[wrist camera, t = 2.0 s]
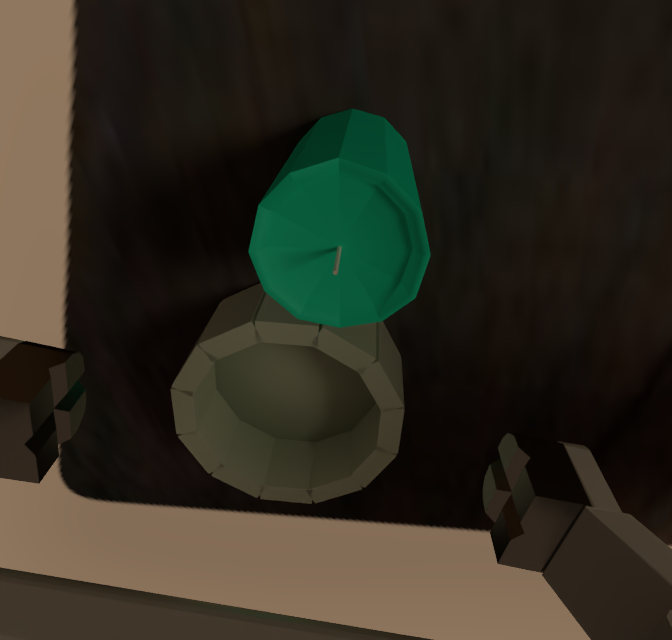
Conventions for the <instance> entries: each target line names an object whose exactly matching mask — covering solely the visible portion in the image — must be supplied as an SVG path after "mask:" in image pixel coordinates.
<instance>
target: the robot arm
mask: <svg viewBox="0 0 672 640" xmlns="http://www.w3.org/2000/svg"><path fill="white" fill-rule="evenodd" d="M84 371H85V369H84V360H83V356H82V355H81V354H80V353H79V352H76V351H71V350H66V349H61V348H56V347H52V346H47V345H42V344H37V343H33V342H28V341H21V340H17V339H12V338H6V337H2V336H0V478H6V479H12V480H19V481H26V482H34V483H40V481H41V480H42V479H43V477H44V476H45V475H46V473H47V472H48V470H49V469H50V467H51V466H52V465H53V463H54V462H55V461H56V459H57V458H58V456H59V452H58V444H61V443H63V442H65V441H67V440H69V439H71V438H72V436H73V435H74V433H75V432H76V430H77V429H78V428H79V425H80V423H81V420H82V418H83V415H84V412H85V406H86V389H85V388H84V387H83V386H82V384H81V383H80V382H79V381H78V379H79V378H80V376H81V375H82V374H83V372H84ZM498 450H499V453H500V457H501V458H500V459H498V460H497V461H495V462H493V463H491V464H490V466H489V468H488V470H487V473H486V475H485V478H484V485H483V503H484V508H485V513H486V514H487V515H488V516H489V517H490V518H491V519H492V520H493V521H494V523H495V524H494V526H493V528H492V530H491V532H490V534H491V538H492V542H493V546H494V550H495V554H496V558H497V563H498V564H502V565H507V566H512V567H517V568H521V569H526V570H531V571H536V572H541V573H543V574H542V576H543V577H544V578H545V579H546V581H547V582H548V584H549V585H550V586H551V587H552V589H553V590H554V591H555V593H556V594H557V595H558V597H559V598H560V599H561V601H562V602H563V603H564V605H565V606H566V607H567V609H568V610H569V611H570V612H571V614H572V615H573V616H574V618H575V619H576V620H577V622H578V623H579V624H580V626H581V627H582V628H583V630H584V631H585V632H586V634H587V635H588V636H589V637H590V639H591V640H672V549H671V548H670V547H668V546H667V545H666V544H665V543H664V542H662V541H661V540H660V539H659V538H658V537H656V536H655V535H654V534H653V533H652V532H651V531H649V530H648V529H647V528H646V527H645V526H643V525H642V524H641V523H640V522H639V521H637V520H636V519H635V518H634V517H633V516H632V515H630V514H626V513H622V512H621V510H620V508H619V506H618V504H617V502H616V500H615V498H614V496H613V494H612V492H611V490H610V488H609V486H608V484H607V483H606V481H605V479H604V477H603V475H602V473H601V471H600V469H599V467H598V465H597V463H596V461H595V459H594V457H593V455H592V454H591V452H590V450H589V449H588V448H586V447H585V446H584V445H578V444H572V443H565V442H555V441H549V440H544V439H538V438H533V437H527V436H522V435H516V434H511V433H507V434H506V435H505V436H504V437H503V438H502V440H501V443H500V445H499V447H498ZM0 640H431V639H426V638H420V637H413V636H407V635H400V634H395V633H389V632H383V631H377V630H371V629H365V628H359V627H353V626H347V625H341V624H335V623H329V622H323V621H317V620H311V619H305V618H299V617H293V616H287V615H281V614H275V613H269V612H263V611H257V610H251V609H245V608H239V607H233V606H227V605H221V604H215V603H209V602H203V601H197V600H191V599H185V598H179V597H173V596H167V595H161V594H155V593H149V592H144V591H137V590H132V589H126V588H119V587H113V586H108V585H101V584H96V583H89V582H83V581H78V580H71V579H66V578H59V577H54V576H47V575H41V574H35V573H29V572H23V571H17V570H11V569H5V568H0Z"/></svg>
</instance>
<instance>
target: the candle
mask: <svg viewBox="0 0 672 640" xmlns="http://www.w3.org/2000/svg"><path fill="white" fill-rule="evenodd" d="M248 252H249V255H250V257H251V260H252V262H253V265H254V267H255V269H256V272H257V274H258V277H259V279H260V282H261V284H262V287H263V289H264V291H265V292H266V293H267V294H268V295H269V296H271V297H272V298H273V299H274V300H275V301H277V302H278V303H279V304H280V305H281V306H283V307H284V308H285V309H286V310H287V311H288V312H290V313H291V314H292V315H293V316H294V317H296V318H297V319H300V320H305V321H309V322H314V323H319V324H323V325H328V326H333V327H338V328H342V327H349V326H356V325H362V324H369V323H376V322H382V321H383V320H385V319H386V318H388V317H389V316H390V315H392V314H393V313H395V312H396V311H398V310H399V309H401V308H402V307H403V306H405V305H406V304H408V303H409V302H411V301H412V300H413V299H415V298H416V295H417V292H418V290H419V287H420V284H421V281H422V278H423V275H424V273H425V270H426V267H427V264H428V261H429V258H430V256H431V254H430V249H429V244H428V239H427V234H426V229H425V224H424V220H423V215H422V210H421V205H420V201H419V196H418V192H417V187H416V183H415V179H414V174H413V170H412V165H411V161H410V156H409V152H408V147H407V143H406V141H405V140H404V139H403V138H402V137H401V135H400V134H399V133H398V132H397V131H396V130H395V129H394V128H393V127H392V126H391V125H390V123H389V122H388V121H387V120H386V119H385V118H384V117H380V116H377V115H373V114H370V113H366V112H363V111H359V110H356V109H349V110H346V111H342V112H339V113H335V114H332V115H328V116H325V117H321V118H320V119H319V121H318V122H317V123H316V124H315V125H314V126H313V127H312V128H311V129H310V130H309V131H308V132H307V134H306V135H305V136H304V137H303V138H302V139H301V140H300V141H299V143H298V144H297V146H296V147H295V149H294V150H293V152H292V154H291V155H290V157H289V158H288V160H287V161H286V163H285V164H284V166H283V168H282V169H281V171H280V172H279V174H278V175H277V177H276V179H275V180H274V182H273V183H272V185H271V186H270V188H269V189H268V191H267V193H266V194H265V196H264V197H263V199H262V200H261V202H260V203H259V205H258V210H257V214H256V219H255V224H254V228H253V233H252V237H251V242H250V247H249V251H248Z"/></svg>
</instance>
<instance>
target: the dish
mask: <svg viewBox="0 0 672 640" xmlns="http://www.w3.org/2000/svg"><path fill="white" fill-rule="evenodd" d="M171 387H172V388H171V397H172V405H173V412H174V420H175V427H176V434H179V435H178V438H179V439H180V440H181V441H182V442H183V444H184V445H185V446H186V447H187V448H188V450H189V451H190V452H191V453H192V454H193V456H194V457H195V458H196V459H197V460H198V462H199V463H200V464H201V465H202V466H203V468H204V469H205V470H206V471H207V472H208V473H211V472H212V475H211V476H213V477H215V478H217V479H219V480H221V481H223V482H225V483H227V484H229V485H231V486H233V487H235V488H237V489H239V490H242V491H244V492H246V493H248V494H250V495H252V496H254V497H256V498H258V496H259V495H260V499H265V500H276V501H287V502H297V503H308V504H312V500H313V501H314V502H315V503H319V502H322V501H325V500H329V499H332V498H335V497H339V496H342V495H345V494H348V493H352V492H355V491H358V490H362V487H364V488H365V487H366V486H367V485H368V484H369V483H370V482H371V481H372V480H373V479H374V478H375V477H376V476H377V475H378V474H379V473H380V472H381V471H382V470H383V469H384V468H385V467H386V466H387V465H388V464H389V463H390V462H391V461H392V460H393V459H394V458H395V457H396V456H397V454H396V453H398V450H399V443H400V437H401V430H402V423H403V416H404V394H403V378H402V362H401V355H400V353H399V351H398V349H397V347H396V345H395V344H394V342H393V340H392V338H391V336H390V334H389V332H388V330H387V328H386V327H385V325H384V323H383V321H382V322H376V323H369V324H362V325H356V326H349V327H342V328H338V327H333V326H328V325H323V324H319V323H314V322H309V321H305V320H300V319H297V318H296V317H294V316H293V315H292V314H291V313H290V312H288V311H287V310H286V309H285V308H284V307H283V306H281V305H280V304H279V303H278V302H277V301H275V300H274V299H273V298H272V297H271V296H269V295H268V294H267V293H266V292H265V291H264V289H263V287H262V284H261V283H259V284H256V285H254V286H252V287H250V288H248V289H245V290H243V291H241V292H239V293H237V294H234V295H232V296H230V297H228V298H226V299H223V301H222V302H220V304H219V305H218V307H217V309H216V310H215V312H214V314H213V315H212V317H211V318H210V320H209V322H208V323H207V325H206V327H205V328H204V330H203V332H202V333H201V335H200V336H199V338H198V340H197V342H196V343H195V345H194V347H193V349H192V350H191V352H190V354H189V356H188V358H187V359H186V361H185V363H184V365H183V366H182V368H181V370H180V372H179V373H178V375H177V377H176V379H175V381H174V382H173V384H172V386H171Z"/></svg>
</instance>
